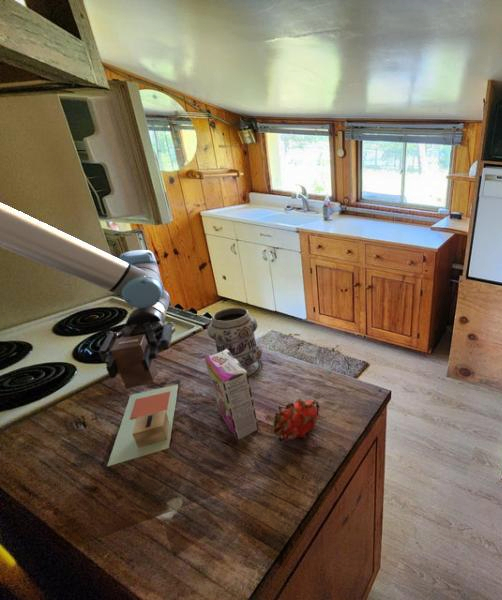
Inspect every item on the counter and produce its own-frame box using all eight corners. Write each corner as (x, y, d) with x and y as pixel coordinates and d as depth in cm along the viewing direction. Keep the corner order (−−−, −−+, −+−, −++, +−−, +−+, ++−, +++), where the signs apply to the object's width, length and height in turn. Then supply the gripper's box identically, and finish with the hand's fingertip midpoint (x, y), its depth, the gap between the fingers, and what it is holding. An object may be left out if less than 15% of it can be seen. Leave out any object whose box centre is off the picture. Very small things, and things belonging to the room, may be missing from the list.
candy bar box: (218, 414, 76) (203, 356, 69) (239, 404, 79) (227, 347, 72) (236, 443, 69) (222, 381, 62) (259, 430, 72) (248, 370, 65)
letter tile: (138, 448, 66) (131, 433, 64) (142, 430, 70) (136, 416, 68) (167, 439, 68) (162, 425, 67) (169, 423, 72) (165, 409, 71)
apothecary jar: (254, 353, 98) (244, 299, 91) (272, 371, 91) (263, 315, 83) (211, 369, 91) (197, 312, 83) (227, 391, 83) (213, 330, 75)
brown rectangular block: (126, 388, 71) (110, 350, 67) (130, 375, 75) (116, 338, 71) (153, 382, 73) (140, 344, 69) (156, 370, 77) (144, 333, 73)
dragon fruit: (272, 454, 68) (315, 425, 78) (294, 451, 64) (337, 421, 73) (257, 416, 69) (302, 392, 79) (278, 410, 64) (323, 386, 74)
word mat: (107, 468, 62) (106, 466, 62) (130, 396, 80) (130, 394, 80) (169, 449, 67) (168, 447, 66) (178, 385, 84) (178, 383, 84)
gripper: (190, 325, 91) (183, 372, 72) (108, 339, 83) (77, 395, 65) (183, 301, 88) (175, 344, 69) (97, 313, 80) (62, 365, 61)
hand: (128, 368), depth 67 cm, fingers closed on brown rectangular block, 5 cm apart
